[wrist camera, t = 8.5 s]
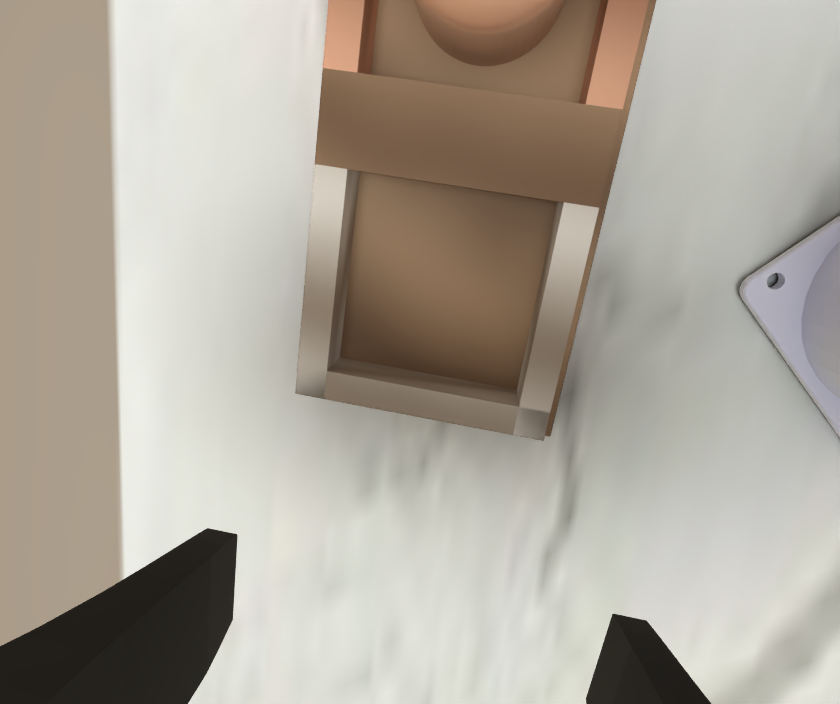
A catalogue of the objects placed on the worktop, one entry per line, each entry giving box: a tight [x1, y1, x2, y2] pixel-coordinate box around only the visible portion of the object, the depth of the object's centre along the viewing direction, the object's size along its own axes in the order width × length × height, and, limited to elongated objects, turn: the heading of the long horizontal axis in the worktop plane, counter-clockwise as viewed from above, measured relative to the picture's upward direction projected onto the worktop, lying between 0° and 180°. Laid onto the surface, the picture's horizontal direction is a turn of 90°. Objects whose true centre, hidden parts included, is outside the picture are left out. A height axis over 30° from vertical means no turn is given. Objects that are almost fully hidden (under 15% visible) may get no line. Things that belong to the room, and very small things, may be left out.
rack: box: [295, 0, 656, 441], centre depth 16 cm, size 18×9×2 cm, turn 171°
